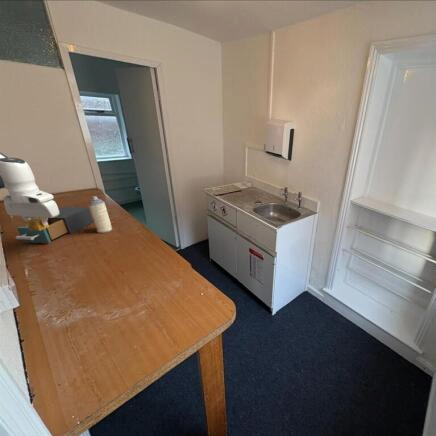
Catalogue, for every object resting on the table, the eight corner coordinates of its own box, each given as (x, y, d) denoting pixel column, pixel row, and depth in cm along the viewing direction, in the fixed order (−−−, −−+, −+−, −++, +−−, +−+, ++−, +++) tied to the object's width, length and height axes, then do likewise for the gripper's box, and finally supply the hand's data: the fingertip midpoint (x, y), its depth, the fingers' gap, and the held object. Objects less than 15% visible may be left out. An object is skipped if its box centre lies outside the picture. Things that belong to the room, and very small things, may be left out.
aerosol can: (108, 227, 135) (98, 194, 127) (115, 229, 132) (105, 196, 124) (94, 231, 129) (83, 197, 121) (101, 234, 126) (90, 199, 119)
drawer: (40, 247, 111) (33, 232, 107) (13, 246, 110) (6, 231, 107) (74, 230, 128) (69, 217, 125) (51, 229, 128) (46, 216, 125)
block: (29, 230, 105) (25, 221, 103) (39, 226, 109) (36, 217, 107) (39, 230, 105) (36, 221, 103) (49, 226, 109) (45, 217, 107)
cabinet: (70, 234, 125) (64, 218, 121) (45, 233, 125) (38, 216, 121) (93, 222, 140) (88, 207, 136) (70, 221, 139) (65, 206, 136)
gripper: (-7, 197, 98) (7, 226, 103) (42, 199, 98) (54, 229, 103) (10, 192, 103) (22, 221, 109) (56, 195, 104) (66, 223, 109)
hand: (38, 225), depth 106 cm, fingers closed on block, 4 cm apart
